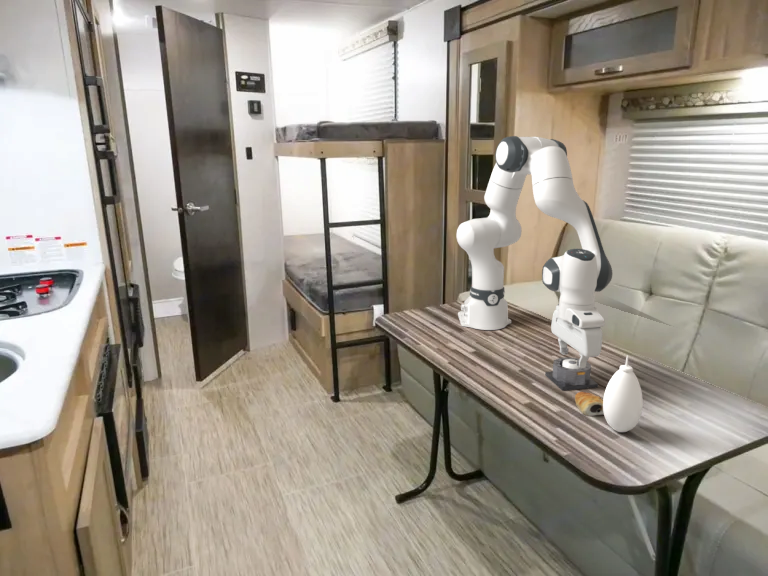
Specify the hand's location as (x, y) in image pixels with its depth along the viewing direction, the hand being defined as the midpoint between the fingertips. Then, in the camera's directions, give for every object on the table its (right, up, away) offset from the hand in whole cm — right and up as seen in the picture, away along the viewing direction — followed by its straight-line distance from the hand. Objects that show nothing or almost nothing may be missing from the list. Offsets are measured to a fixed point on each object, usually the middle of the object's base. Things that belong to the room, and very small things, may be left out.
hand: (572, 360), depth 140 cm
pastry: (-1, -10, -13) cm, 17 cm away
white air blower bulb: (+2, -13, -24) cm, 27 cm away
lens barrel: (0, -6, +1) cm, 6 cm away
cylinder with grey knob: (0, -5, +1) cm, 5 cm away
